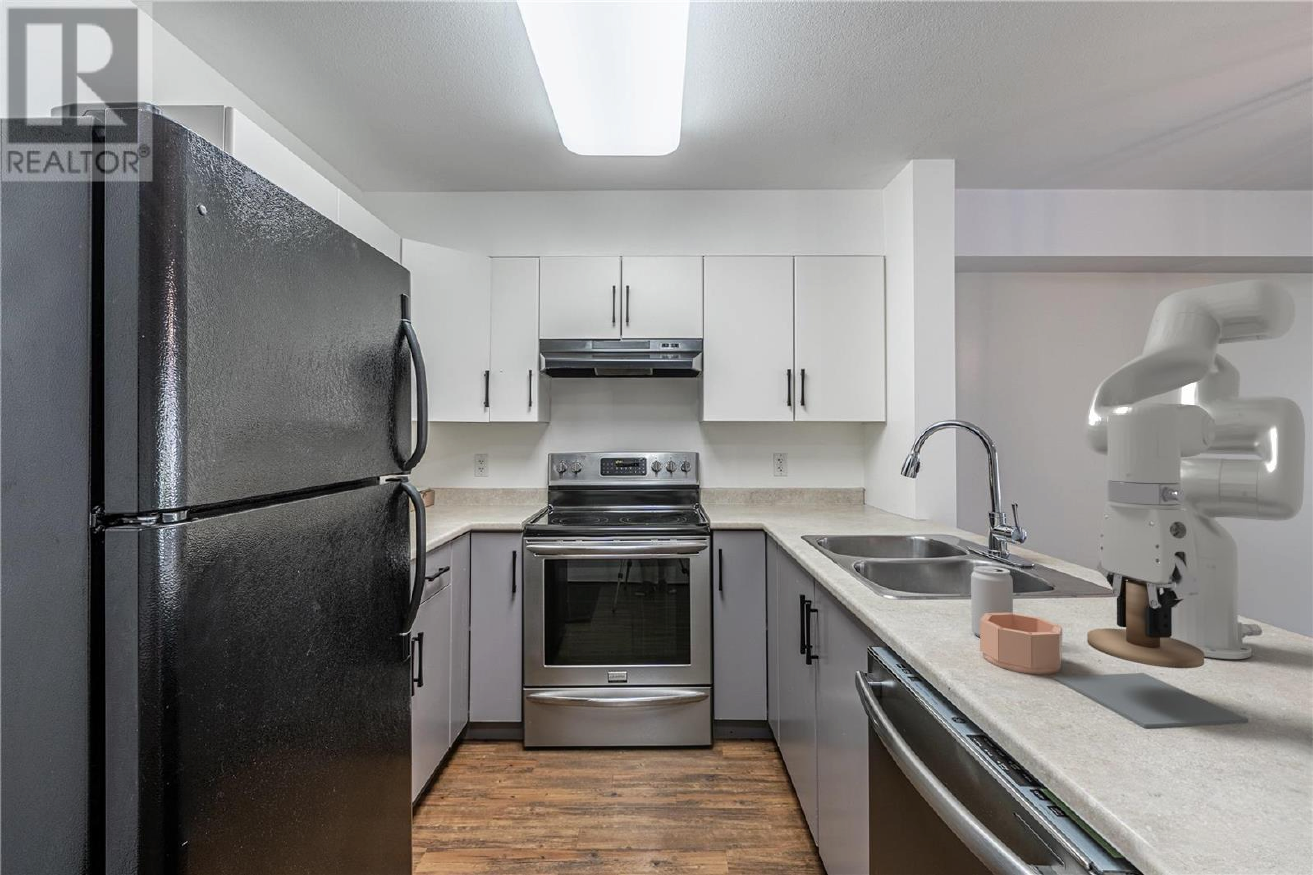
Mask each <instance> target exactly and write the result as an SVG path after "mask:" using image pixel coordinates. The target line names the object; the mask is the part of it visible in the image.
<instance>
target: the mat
mask: <svg viewBox="0 0 1313 875" xmlns="http://www.w3.org/2000/svg"><path fill="white" fill-rule="evenodd" d="M1054 680H1055V681H1057V682H1058V683H1061V684H1063V685H1064V686H1066V687H1067V688H1070V689H1072V690H1074V691H1075V692H1077V693H1079V694H1081V695H1083V696H1084V697H1086V698H1088V699H1091V700H1092V701H1093V702H1095V703H1097V704H1099V705H1101V706H1103V707H1105V708H1107V709H1108V710H1110V711H1112V712H1114V713H1116V714H1117V715H1119V716H1122V717H1123V718H1125V719H1127V720H1129V721H1131V722H1133V723H1135V724H1137V725H1138V726H1139V727H1142V728H1144V729H1147V728H1148V729H1150V728H1166V727H1167V728H1168V727H1186V726H1190V727H1191V726H1205V725H1206V726H1207V725H1209V726H1210V725H1222V724H1224V725H1225V724H1241V723H1242V724H1246V723H1249V722H1250V719H1249V718H1247V717H1244V716H1242V715H1240V714H1238V713H1235V712H1233V711H1231V710H1229V709H1226V708H1225V707H1222V706H1219V705H1217V704H1216V703H1214V702H1210V701H1208V700H1206V699H1204V698H1201V697H1199V696H1197V695H1194V694H1192V693H1190V692H1188V691H1185V690H1184V689H1181V688H1179V687H1176V686H1174V685H1172V684H1169V683H1167V682H1165V681H1162V680H1161V679H1158V678H1156V677H1153V676H1151V675H1149V674H1147V673H1145V672H1134V673H1133V672H1132V673H1111V674H1110V673H1109V674H1090V675H1089V674H1087V675H1068V676H1067V675H1065V676H1063V675H1062V676H1054Z"/></svg>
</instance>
